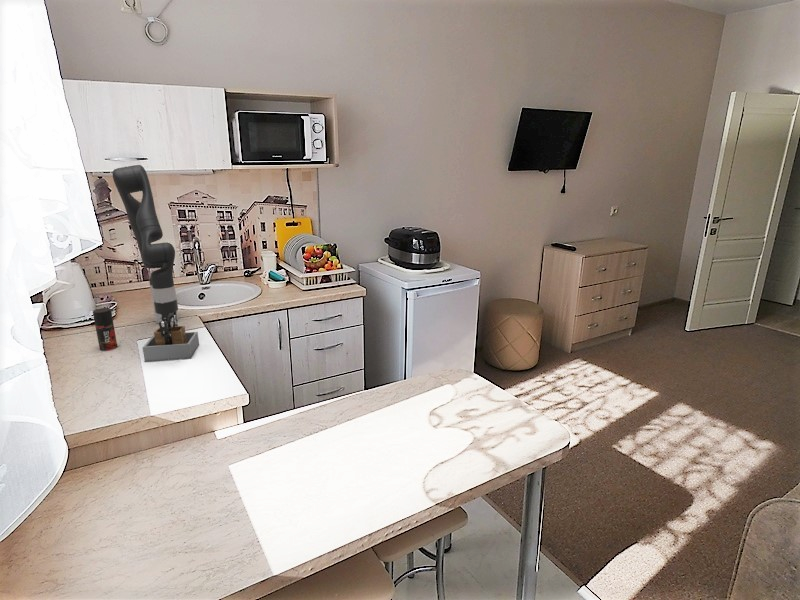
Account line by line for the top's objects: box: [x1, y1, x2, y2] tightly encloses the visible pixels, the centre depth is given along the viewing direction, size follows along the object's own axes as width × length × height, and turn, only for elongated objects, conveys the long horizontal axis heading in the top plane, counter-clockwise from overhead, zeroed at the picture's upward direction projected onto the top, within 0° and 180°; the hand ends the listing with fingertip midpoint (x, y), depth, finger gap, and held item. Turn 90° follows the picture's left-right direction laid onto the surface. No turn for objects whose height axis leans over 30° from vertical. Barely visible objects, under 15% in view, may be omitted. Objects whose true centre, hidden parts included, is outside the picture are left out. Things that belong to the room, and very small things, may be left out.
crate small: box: [153, 325, 187, 346], centre depth 183 cm, size 6×9×6 cm, turn 100°
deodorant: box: [92, 307, 118, 352], centre depth 189 cm, size 6×6×15 cm
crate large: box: [142, 331, 200, 363], centre depth 184 cm, size 14×16×6 cm
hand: (171, 342), depth 183 cm, fingers closed on crate small, 6 cm apart
